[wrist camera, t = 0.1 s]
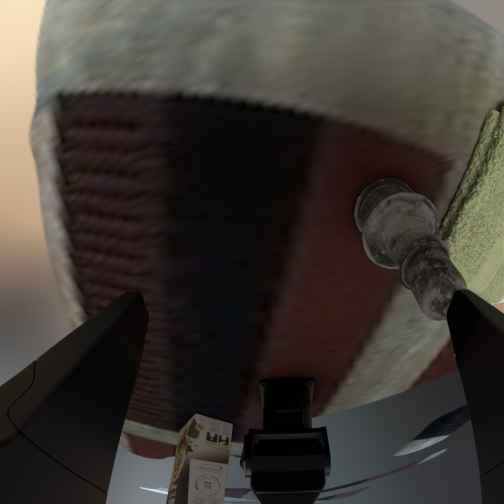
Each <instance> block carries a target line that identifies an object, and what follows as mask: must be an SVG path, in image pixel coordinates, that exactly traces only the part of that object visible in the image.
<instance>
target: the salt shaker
mask: <svg viewBox="0 0 504 504" xmlns="http://www.w3.org/2000/svg"><path fill="white" fill-rule="evenodd" d="M354 216H355V222H356V224H357V226H358V228H359V230H360V231H361V232H362V241H363V247H364V250H365V252H366V254H367V256H368V257H369V258H370V259H371V260H372V261H373V262H374V263H375V264H377V265H379V266H381V267H384V268H389V269H397V274H398V278H399V281H400V283H401V284H402V285H403V286H404V287H405V288H407V289H410V290H412V292H413V294H414V296H415V298H416V300H417V302H418V304H419V306H420V308H421V310H422V312H423V313H424V314H425V315H426V316H427V317H428V318H430V319H432V320H437V321H441V320H445V319H447V318H446V313H447V309H448V307H449V304H450V302H451V300H452V297H453V295H454V293H455V291H456V290H458V289H467V285H466V282H465V280H464V278H463V276H462V275H461V274H460V272H459V271H458V269H457V268H456V267H455V265H454V264H453V263H452V261H451V260H450V251H449V248H448V246H447V244H446V243H445V242H444V241H442V240H441V239H438V238H437V234H438V230H439V217H438V214H437V210H436V208H435V207H434V205H433V204H432V202H431V201H430V200H429V199H427V198H426V197H425V196H424V195H421V194H418V193H416V192H413V191H412V190H411V188H410V187H409V186H408V185H407V184H405V183H404V182H403V181H400V180H397V179H394V178H385V179H380V180H377V181H375V182H373V183H371V184H370V185H368V186H367V187H366V188H365V189H364V190H363V191H362V193H361V194H360V196H359V197H358V199H357V202H356V205H355V211H354Z"/></svg>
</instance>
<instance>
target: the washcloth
mask: <svg viewBox="0 0 504 504" xmlns="http://www.w3.org/2000/svg"><path fill="white" fill-rule="evenodd" d="M437 238H438V239H441V240H442V241H444V242H445V243H446V244H447V246H448V248H449V251H450V260H451V261H452V263H453V264H454V265H455V267H456V268H457V269H458V271H459V272H460V274H461V275H462V276H463V278H464V280H465V282H466V285H467V289H469V290H471V291H472V292H474V293H475V294H477V295H478V296H480V297H481V298H482V299H484V300H485V301H487V302H488V303H490V304H496V303H499V302H500V301H502V300H503V299H504V106H502V109H501V113H500V112H498V111H496V110H493V109H490V110H489V112H488V115H486V119H485V125H484V126H483V129H482V132H481V133H480V137H479V142H478V144H477V146H476V148H475V151H474V153H473V156H472V159H471V162H470V165H469V168H468V170H466V172H465V176H464V178H463V180H462V181H461V185H460V188H459V189H458V191H457V193H456V197H455V198H454V201H453V203H452V204H451V206H450V210H449V211H448V213H447V215H446V216H445V220H444V222H442V227H441V229H440V230H439V233H438V234H437Z"/></svg>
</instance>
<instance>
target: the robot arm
mask: <svg viewBox="0 0 504 504" xmlns="http://www.w3.org/2000/svg"><path fill="white" fill-rule="evenodd" d="M446 318H447V322H448V326H449V331H450V335H451V339H452V344H453V349H454V354H455V358H456V362H457V366H458V370H459V373H460V377H461V380H462V384H463V388H464V392H465V396H466V400H467V404H468V409H469V413H470V418H471V423H472V428H473V434H474V439H475V445H476V452H477V458H478V466H479V475H480V487H481V501H482V504H504V313H503V312H501V311H500V310H498V309H497V308H496V307H494V306H493V305H491V304H490V303H488V302H487V301H485V300H484V299H482V298H481V297H480V296H478V295H477V294H475V293H474V292H472V291H471V290H469V289H458V290H456V291H455V293H454V295H453V297H452V300H451V302H450V304H449V307H448V309H447V313H446ZM148 322H149V315H148V311H147V308H146V305H145V302H144V299H143V296H142V294H141V293H139V292H125V293H124V294H123V295H121V296H120V297H118V298H117V299H116V300H114V301H113V302H112V303H110V304H109V305H107V306H106V307H105V308H103V309H102V310H101V311H99V312H98V313H96V314H95V315H94V316H92V317H91V318H90V319H88V320H87V321H86V322H84V323H83V324H82V325H80V326H79V327H78V328H76V329H75V330H74V331H72V332H71V333H70V334H69V335H67V336H66V337H64V338H63V339H62V340H61V341H59V342H58V343H57V344H56V345H54V346H53V347H51V348H50V349H49V350H47V351H46V352H45V353H44V354H42V355H41V356H40V357H38V358H37V361H33V362H32V363H31V364H30V365H28V366H27V367H26V368H24V369H23V370H22V371H21V372H19V373H18V374H17V375H15V376H14V377H13V378H11V379H10V380H8V381H7V382H6V383H4V384H3V385H1V386H0V504H106V499H107V492H108V488H109V483H110V479H111V474H112V470H113V465H114V461H115V457H116V452H117V448H118V444H119V440H120V436H121V432H122V429H123V425H124V421H125V417H126V413H127V410H128V406H129V403H130V399H131V396H132V392H133V389H134V385H135V382H136V378H137V375H138V371H139V368H140V363H141V358H142V353H143V347H144V342H145V337H146V332H147V327H148ZM314 385H315V381H314V379H295V380H263V381H260V382H259V387H260V395H261V402H262V407H263V430H254V429H249V433H248V434H245V437H244V447H243V451H242V456H241V460H240V466H241V467H242V468H243V469H244V473H245V476H246V479H251V484H250V485H251V489H252V492H253V495H254V497H255V499H256V501H257V502H258V504H314V503H315V502H316V500H317V498H318V497H319V495H320V493H321V492H322V490H323V488H324V486H325V482H326V481H325V477H328V476H329V474H330V468H331V467H330V466H331V457H330V449H329V442H328V436H327V430H326V427H321V428H312V419H311V405H312V399H313V392H314Z"/></svg>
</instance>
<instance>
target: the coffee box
mask: <svg viewBox="0 0 504 504" xmlns="http://www.w3.org/2000/svg"><path fill="white" fill-rule="evenodd" d="M232 428H233V424H231V423H227V422H223V421H220V420H216V419H213V418H210V417H206V416H203V415H200V414H195V415H194V416H193V417H192V418H191V419H190V420H189V421H188V423H187V424H186V425H185V426H184V427H183V428H182V429H181V431H180V435H179V440H178V445H177V450H176V455H175V460H174V465H173V470H172V476H171V481H170V486H169V491H168V497H167V503H166V504H224V496H225V487H226V479H227V471H228V461H229V453H230V444H231V436H232Z"/></svg>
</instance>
